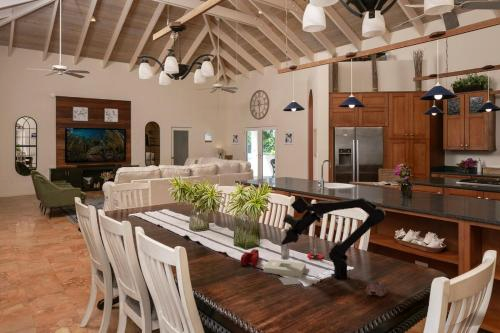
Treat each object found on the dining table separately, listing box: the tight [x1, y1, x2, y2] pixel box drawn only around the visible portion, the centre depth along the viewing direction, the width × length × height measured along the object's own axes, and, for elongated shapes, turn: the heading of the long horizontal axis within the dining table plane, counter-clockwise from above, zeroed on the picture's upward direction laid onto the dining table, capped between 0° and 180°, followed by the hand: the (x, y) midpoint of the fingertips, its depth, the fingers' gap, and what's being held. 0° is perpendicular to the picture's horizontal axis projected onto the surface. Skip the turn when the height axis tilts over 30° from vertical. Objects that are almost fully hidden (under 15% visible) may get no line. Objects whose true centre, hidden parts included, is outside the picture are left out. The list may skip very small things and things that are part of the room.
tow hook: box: [306, 234, 324, 261], centre depth 189 cm, size 8×13×9 cm
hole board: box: [263, 258, 307, 278], centre depth 170 cm, size 18×12×3 cm, turn 71°
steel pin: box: [280, 228, 290, 261], centre depth 169 cm, size 4×4×14 cm
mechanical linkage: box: [240, 248, 260, 268], centre depth 182 cm, size 16×7×5 cm, turn 163°
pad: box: [278, 276, 302, 286], centre depth 157 cm, size 8×8×1 cm
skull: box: [364, 280, 388, 297], centre depth 143 cm, size 12×8×6 cm, turn 135°
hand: (282, 243), depth 169 cm, fingers closed on steel pin, 4 cm apart
